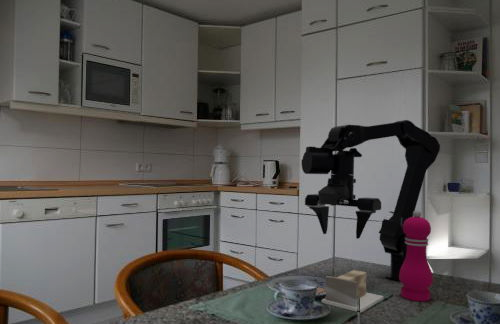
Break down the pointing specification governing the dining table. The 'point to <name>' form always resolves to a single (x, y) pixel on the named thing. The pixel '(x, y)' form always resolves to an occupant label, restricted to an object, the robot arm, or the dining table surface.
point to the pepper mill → (416, 260)
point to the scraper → (346, 287)
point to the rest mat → (365, 302)
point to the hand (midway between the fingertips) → (340, 236)
